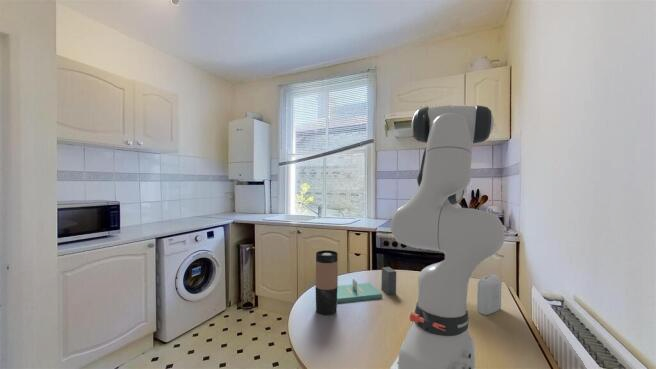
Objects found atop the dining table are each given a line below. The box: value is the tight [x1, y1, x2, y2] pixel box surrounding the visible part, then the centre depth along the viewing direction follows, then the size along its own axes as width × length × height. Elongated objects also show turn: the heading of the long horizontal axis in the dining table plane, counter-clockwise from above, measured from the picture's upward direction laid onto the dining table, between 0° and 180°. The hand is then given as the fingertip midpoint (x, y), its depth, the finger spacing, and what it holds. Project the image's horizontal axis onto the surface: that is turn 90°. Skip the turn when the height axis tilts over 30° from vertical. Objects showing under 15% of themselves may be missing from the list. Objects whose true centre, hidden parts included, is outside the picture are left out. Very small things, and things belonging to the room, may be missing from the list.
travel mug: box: [315, 249, 339, 316], centre depth 98 cm, size 8×8×20 cm
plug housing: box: [381, 266, 397, 296], centre depth 115 cm, size 6×3×9 cm, turn 15°
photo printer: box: [476, 274, 503, 316], centre depth 99 cm, size 10×4×12 cm, turn 123°
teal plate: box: [337, 278, 383, 304], centre depth 112 cm, size 12×18×6 cm, turn 105°
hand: (416, 236), depth 118 cm, fingers open, 8 cm apart
